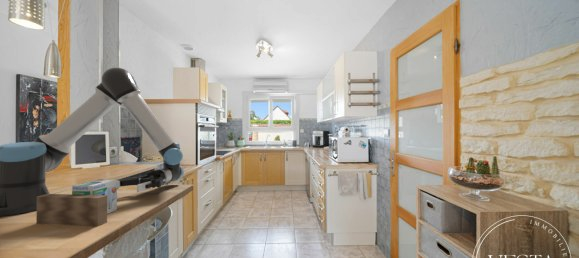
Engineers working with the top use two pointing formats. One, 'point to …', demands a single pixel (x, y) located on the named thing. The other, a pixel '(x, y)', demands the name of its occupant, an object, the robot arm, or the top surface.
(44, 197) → the walnut board
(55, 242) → the top surface
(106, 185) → the light bulb box
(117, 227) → the top surface
